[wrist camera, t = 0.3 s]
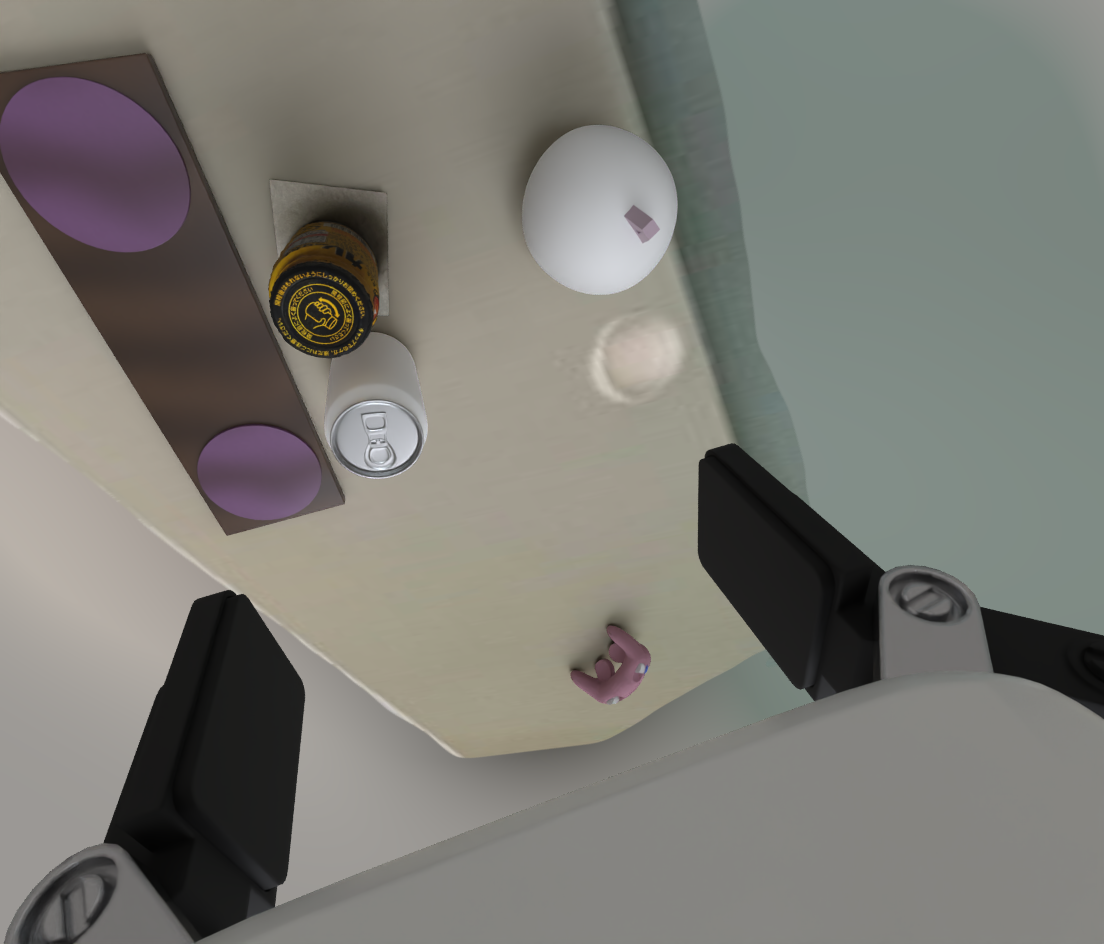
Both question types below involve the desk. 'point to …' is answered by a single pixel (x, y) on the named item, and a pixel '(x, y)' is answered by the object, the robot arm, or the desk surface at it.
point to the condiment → (328, 266)
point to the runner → (163, 281)
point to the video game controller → (627, 676)
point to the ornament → (599, 209)
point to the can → (375, 409)
